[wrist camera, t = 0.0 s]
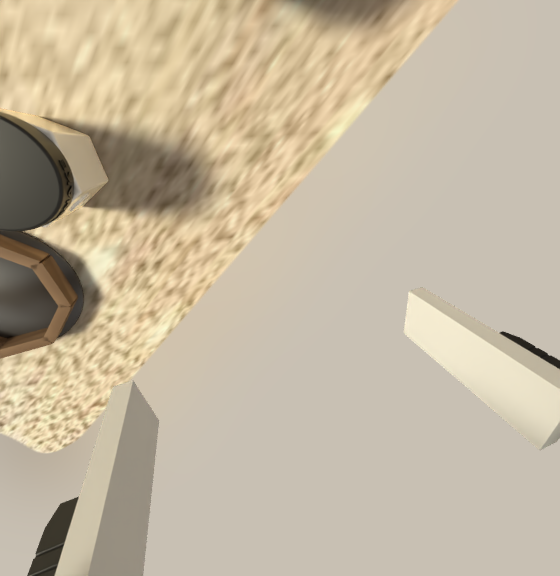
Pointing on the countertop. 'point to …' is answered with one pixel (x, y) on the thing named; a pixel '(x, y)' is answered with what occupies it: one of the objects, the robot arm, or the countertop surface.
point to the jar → (44, 171)
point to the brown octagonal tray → (34, 294)
